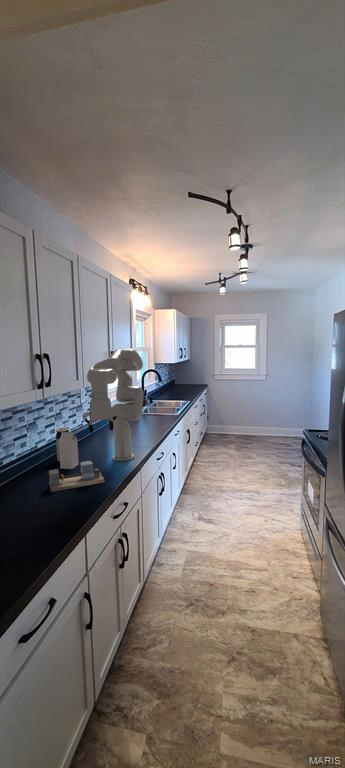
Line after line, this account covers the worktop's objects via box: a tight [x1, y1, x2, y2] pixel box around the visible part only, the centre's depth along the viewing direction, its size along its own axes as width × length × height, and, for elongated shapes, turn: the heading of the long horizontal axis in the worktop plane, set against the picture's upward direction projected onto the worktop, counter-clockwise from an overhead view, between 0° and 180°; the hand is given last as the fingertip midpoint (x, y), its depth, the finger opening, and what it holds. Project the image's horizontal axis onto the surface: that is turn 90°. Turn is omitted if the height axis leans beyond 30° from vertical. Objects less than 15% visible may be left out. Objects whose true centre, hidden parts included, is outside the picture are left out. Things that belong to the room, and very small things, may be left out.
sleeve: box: [79, 460, 95, 480], centre depth 166 cm, size 6×5×7 cm
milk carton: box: [59, 431, 80, 470], centre depth 187 cm, size 7×7×19 cm
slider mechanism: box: [48, 467, 106, 493], centre depth 164 cm, size 10×24×8 cm, turn 114°
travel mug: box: [55, 427, 70, 462], centre depth 199 cm, size 8×8×18 cm
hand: (101, 431), depth 166 cm, fingers open, 9 cm apart
